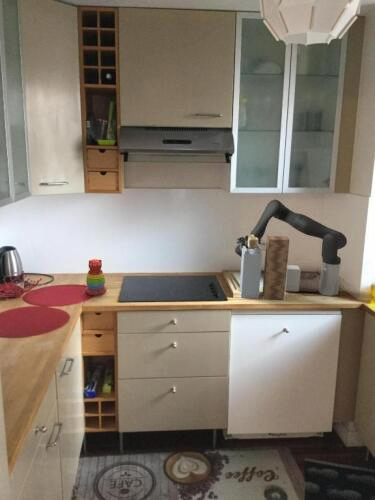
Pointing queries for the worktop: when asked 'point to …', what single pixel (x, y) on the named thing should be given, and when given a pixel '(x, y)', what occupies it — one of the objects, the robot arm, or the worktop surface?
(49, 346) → the worktop surface
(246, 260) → the holder
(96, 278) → the stacking bear
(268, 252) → the walnut block
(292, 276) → the supplement box
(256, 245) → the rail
